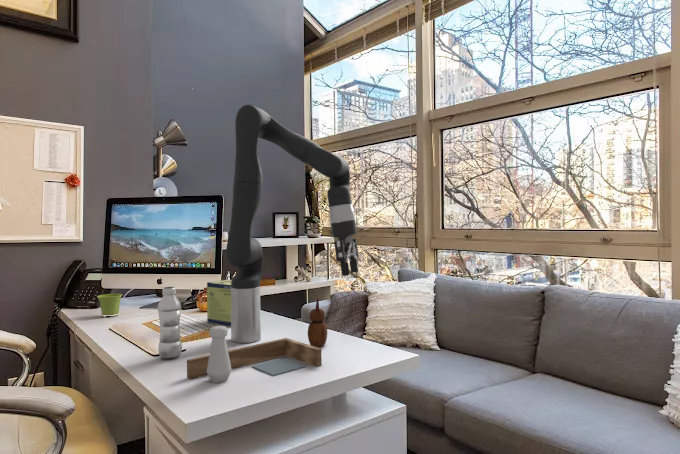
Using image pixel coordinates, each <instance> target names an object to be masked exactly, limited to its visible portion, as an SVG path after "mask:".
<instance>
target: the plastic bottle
mask: <svg viewBox="0 0 680 454" xmlns="http://www.w3.org/2000/svg"><path fill="white" fill-rule="evenodd" d="M161 294H162V298H161V299H160V300H159V302H158V304H157V313H158V319H159V329H160V330H159V343H158V346H157V347H158V348H157V350H158V355H159V357H160V358H161V359H174V358H179V357H180V355H181V354H182V351H183V343H182V340H181V327H180V322H181V320H180V319H181V310H182V304H181V301H180V299H179V298H178V297H177V296H176V295H177V287H176V286H165V287H162V293H161Z"/></svg>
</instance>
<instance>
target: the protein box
mask: <svg viewBox="0 0 680 454" xmlns="http://www.w3.org/2000/svg"><path fill="white" fill-rule="evenodd" d="M231 280H232V279H222V280H215V281H209V282H206V298H207V299H206V303H207V305H206V307H207V309H206V311H207V316H206V318H207V319H206V320H207V321H209V322H208V323H210V322H213V323H212V324H216V323H217V324H216V325H221V326H228V325H229V327H231V310H232V299H231ZM207 321H206V322H207Z"/></svg>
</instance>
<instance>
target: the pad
mask: <svg viewBox="0 0 680 454" xmlns="http://www.w3.org/2000/svg"><path fill="white" fill-rule="evenodd" d="M251 368H253V369H255V370H257V371H259V372H263V373H265V374H267V375H270V376H272V377H275V376H279V375H283V374H286V373H290V372H293V371H296V370H299V369H303V368H306V366H305V365H304V364H300V363H297V362H295V361H292V360H289V359H286V358H285V357H283V358H282V357H281V358H278V359H277V358H276V359H275V360H269V361H265V362H263V363H262V362H261V363H259V364H254V365H251Z"/></svg>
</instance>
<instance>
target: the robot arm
mask: <svg viewBox="0 0 680 454" xmlns="http://www.w3.org/2000/svg"><path fill="white" fill-rule="evenodd" d="M234 122H235V123H234V124H235V127H234V128H235V129H234V130H235V160H234V161H235V162H234V174H233V175H234V176H233V185H232V203H231V204H232V205H231V215H230V225H229V231H228V237H227V243H226V247H225V248H226V249H225V254H226V259H227V261H228V262H229V264H230V265H231V266H233V267H235V268H237V270H236V273H235V275H234V276H233V277H232V279H230V280H231V299H232V310H231V326H230V335H231V336H230V339H231V341H232V342H234V343H239V344H240V343H241V344H246V343H247V344H249V343H253V342H258V341H260V340H261V338H262V334H261V332H262V330H261V329H262V328H261V321H262V320H261V319H262V318H261V280H262V276H263V266H264V265H263V260H264V259H263V258H264V253H263V247H262V245H261V243H260V241H258V239H256V238H253V237H251V235H252V225H253V221H254V219H255V216H256V213H257V212H258V209H259V206H260V204H261V201H262V199H263V198H262V197H263V187H264V186H263V185H264V177H263V171H262V166H261V163H260V160H259V156H258V142H259V141H258V139H262V140H265V141H267V142H268V141H269V142H271V143H273V145H277V146H278V147H279V148H280V149H282V150H284V151H285V152H286V153H288V154H289V155H290V156H291V157H292V158H295V159H296V160H298V161H300V162H301V163H303V164H306V165H308V166H310V167H311V168H312V169H314V170H315V171H317V172H318V173H319V174H321V175H323V177H327V178H328V180H329V188H328V190H327V192H326V194H327V202H328V204H327V205H328V215H329V222H330V229H331V236H332V238H333V239H334V238H335V239H336V238H338V239H337V240H335V241H334V250H335V258H336V262H337V263H339V264H340V271H341V276H342V277H346V276H350V275H351V274H350V273H352V274H353V273H354V274H355V273H358V272H359V266H358V258H359V256H360V255H359V254H360V253H359V249H358V243H357V239H356V238H353V236H356V235H358V231H357V223H356V216H355V210H354V208H353V204H352V197H351V196H352V194H351V191H350V187H351V171H350V170H351V169H350V167H349V163H348V161H347V160H346V159H345V158H344V157H342V156H339V155H336V154H335V153H332V152H331V151H329V150H327V149H324V148H322V146H320V145H319V144H318V143H316V142H315V141H312V140H311V139H308V138H307V137H305V136H303V135H301V134H299V133H296V132H294V131H292V130H291V129H289V128H287V127H285V126H284V125H282V124H281V123H279V122H278V121H277V120H276V119H275V118H273V117H272V116H271V115H270V114H269V113H267V112H266V110H264V109H261V108H259V107H257V106H255V105H252V104H245V105H243V106H241V107H240V108H239V109H238V111H237V113H236V116H235V121H234Z"/></svg>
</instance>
